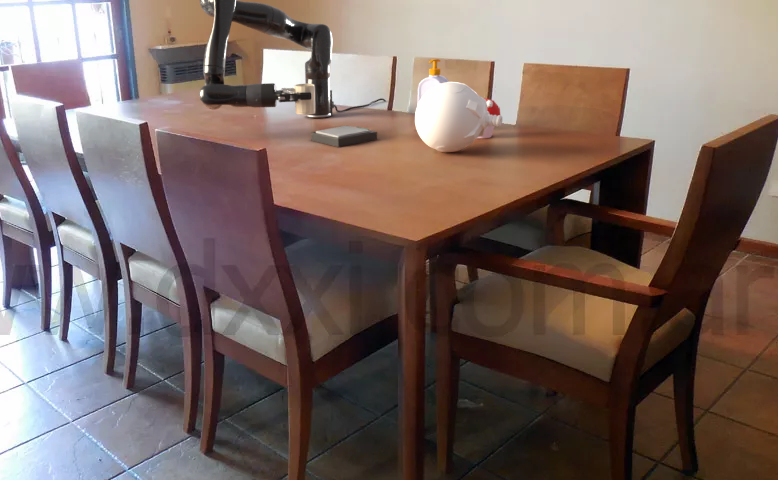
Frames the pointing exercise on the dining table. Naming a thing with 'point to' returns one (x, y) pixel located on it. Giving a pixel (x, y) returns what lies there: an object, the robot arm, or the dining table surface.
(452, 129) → the white rounded shape
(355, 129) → the scale
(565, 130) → the dining table surface
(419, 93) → the soap bottle
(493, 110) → the mushroom
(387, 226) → the dining table surface
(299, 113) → the tumbler
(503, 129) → the dining table surface
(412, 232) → the dining table surface
